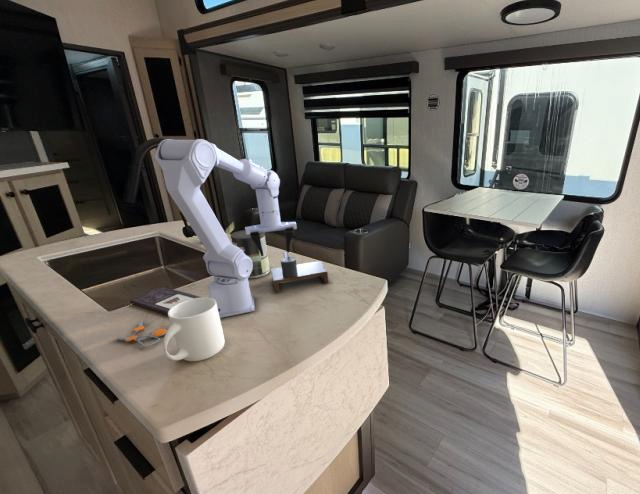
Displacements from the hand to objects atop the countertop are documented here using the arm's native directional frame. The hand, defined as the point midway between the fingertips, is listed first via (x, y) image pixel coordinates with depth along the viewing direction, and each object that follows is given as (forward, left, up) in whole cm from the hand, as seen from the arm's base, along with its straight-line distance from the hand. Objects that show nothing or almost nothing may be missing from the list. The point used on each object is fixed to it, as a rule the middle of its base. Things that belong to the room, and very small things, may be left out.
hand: (275, 253), depth 100 cm
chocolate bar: (-30, -2, -9) cm, 32 cm away
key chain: (-32, -19, -9) cm, 38 cm away
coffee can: (-7, +10, -10) cm, 16 cm away
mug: (-20, -32, -10) cm, 39 cm away
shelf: (+6, -4, -9) cm, 12 cm away
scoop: (+3, -4, -5) cm, 7 cm away
